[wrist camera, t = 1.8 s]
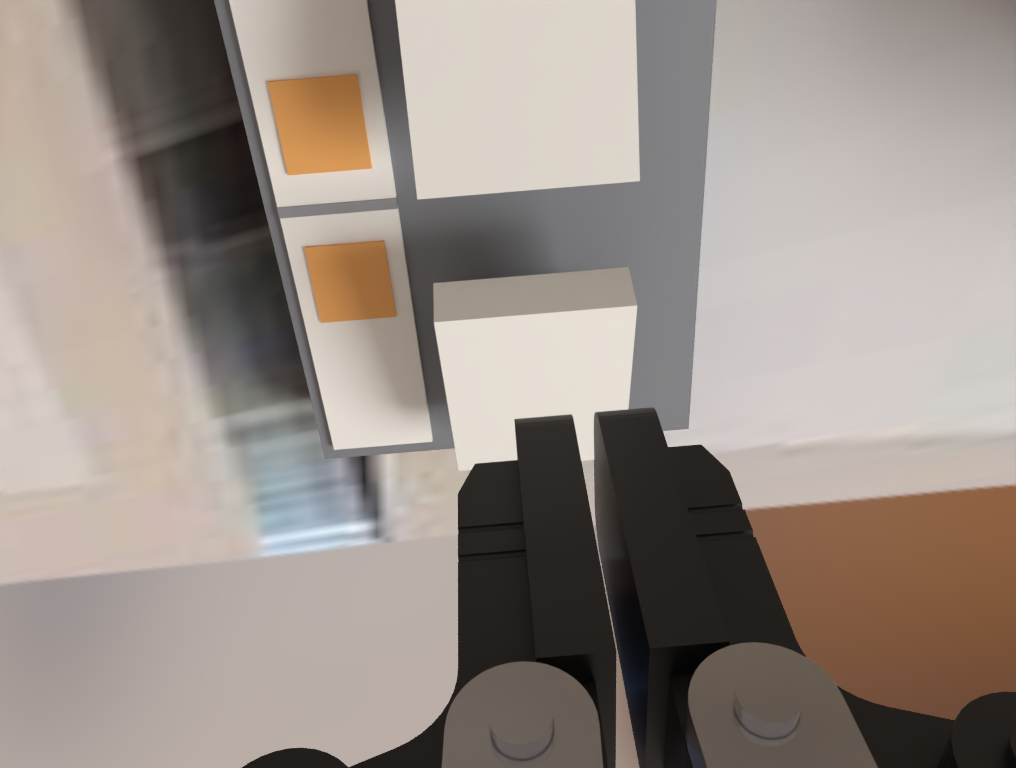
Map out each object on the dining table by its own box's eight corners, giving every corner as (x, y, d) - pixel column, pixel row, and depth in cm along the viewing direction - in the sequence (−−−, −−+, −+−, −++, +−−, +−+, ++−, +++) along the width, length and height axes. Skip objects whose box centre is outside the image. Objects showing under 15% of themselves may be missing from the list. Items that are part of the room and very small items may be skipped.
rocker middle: (387, -112, 19) (381, -126, 17) (621, -131, 19) (631, -146, 17) (421, 191, 21) (417, 199, 19) (629, 174, 21) (639, 181, 19)
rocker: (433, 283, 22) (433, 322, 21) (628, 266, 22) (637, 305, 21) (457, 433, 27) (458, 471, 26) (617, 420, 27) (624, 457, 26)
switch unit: (85, -715, 16) (-15, -851, 13) (725, -767, 16) (797, -916, 13) (335, 405, 31) (320, 483, 28) (670, 377, 31) (696, 451, 28)
